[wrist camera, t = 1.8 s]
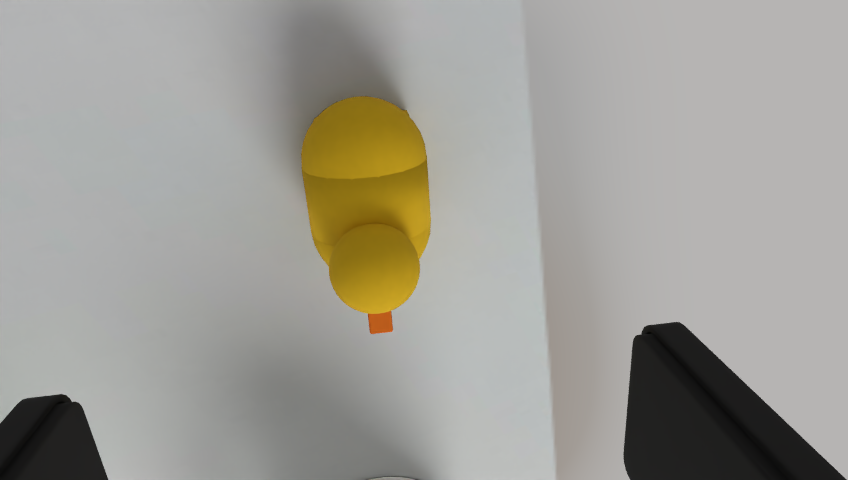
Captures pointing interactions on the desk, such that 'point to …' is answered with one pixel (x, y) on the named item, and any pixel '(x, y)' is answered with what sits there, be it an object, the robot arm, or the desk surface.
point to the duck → (368, 203)
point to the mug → (391, 478)
